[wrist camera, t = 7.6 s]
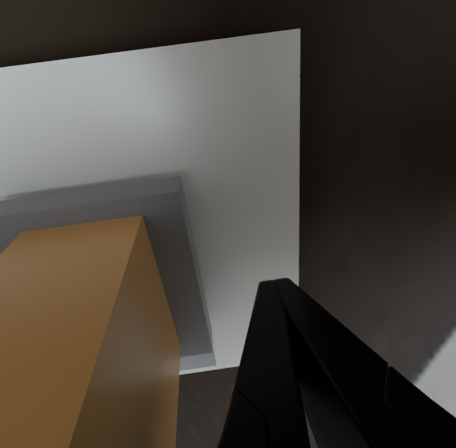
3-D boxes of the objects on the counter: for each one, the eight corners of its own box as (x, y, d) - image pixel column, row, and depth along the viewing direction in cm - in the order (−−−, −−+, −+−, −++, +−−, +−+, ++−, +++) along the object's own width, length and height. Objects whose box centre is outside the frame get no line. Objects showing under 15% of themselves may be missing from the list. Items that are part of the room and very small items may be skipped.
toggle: (180, 175, 8) (110, 741, 2) (211, 329, 11) (232, 742, 5) (-7, 201, 8) (-922, 913, 2) (75, 349, 11) (-105, 799, 5)
